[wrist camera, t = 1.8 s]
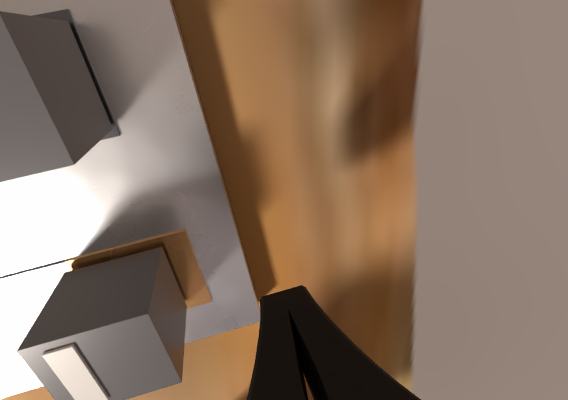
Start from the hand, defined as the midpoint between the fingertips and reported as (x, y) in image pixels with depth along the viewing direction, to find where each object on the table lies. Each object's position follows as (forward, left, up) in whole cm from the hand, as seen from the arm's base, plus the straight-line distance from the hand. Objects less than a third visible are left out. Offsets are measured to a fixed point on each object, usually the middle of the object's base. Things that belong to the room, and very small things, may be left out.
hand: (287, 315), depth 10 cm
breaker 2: (0, +6, -4) cm, 7 cm away
